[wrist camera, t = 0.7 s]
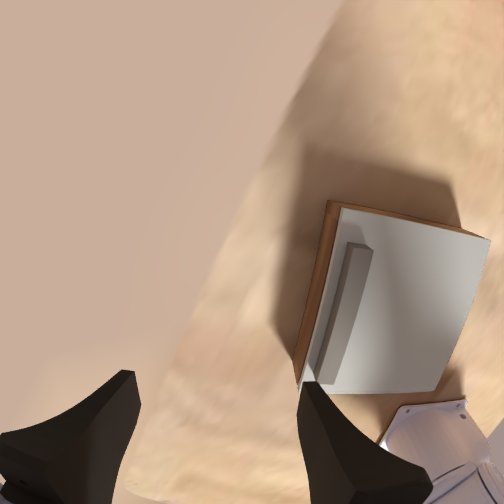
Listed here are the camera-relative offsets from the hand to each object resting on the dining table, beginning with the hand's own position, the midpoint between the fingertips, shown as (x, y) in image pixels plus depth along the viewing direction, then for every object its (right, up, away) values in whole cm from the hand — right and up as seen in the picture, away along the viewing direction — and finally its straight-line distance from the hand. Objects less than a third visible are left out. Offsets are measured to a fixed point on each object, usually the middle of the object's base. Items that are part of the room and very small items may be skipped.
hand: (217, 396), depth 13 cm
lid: (+11, +2, +7) cm, 13 cm away
